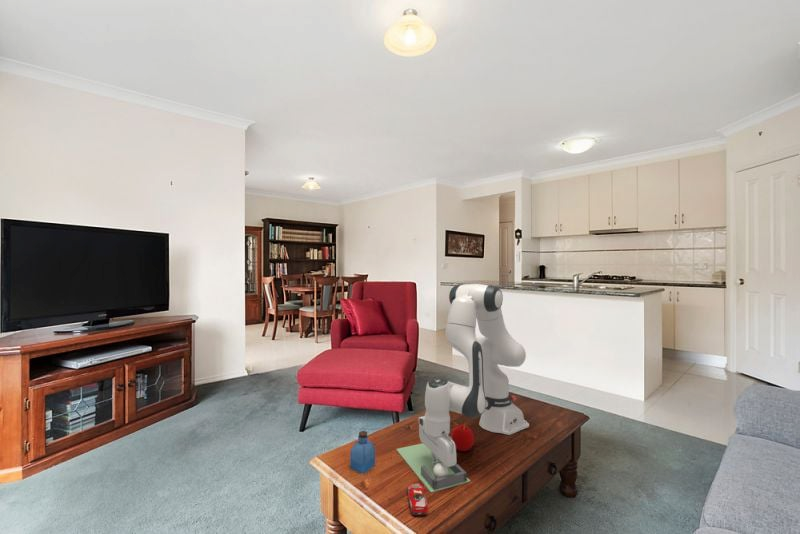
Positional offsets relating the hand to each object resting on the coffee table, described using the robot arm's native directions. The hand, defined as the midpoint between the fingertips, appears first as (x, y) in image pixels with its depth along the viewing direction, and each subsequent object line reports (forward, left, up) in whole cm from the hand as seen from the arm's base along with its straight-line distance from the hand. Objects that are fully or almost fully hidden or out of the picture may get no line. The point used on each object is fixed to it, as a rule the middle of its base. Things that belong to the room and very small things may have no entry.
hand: (436, 465), depth 122 cm
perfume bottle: (+23, -13, -2) cm, 26 cm away
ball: (+1, +5, +1) cm, 5 cm away
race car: (+13, +12, -2) cm, 18 cm away
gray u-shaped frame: (0, +4, -2) cm, 5 cm away
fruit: (-17, -10, -2) cm, 20 cm away
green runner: (0, -5, -2) cm, 5 cm away
